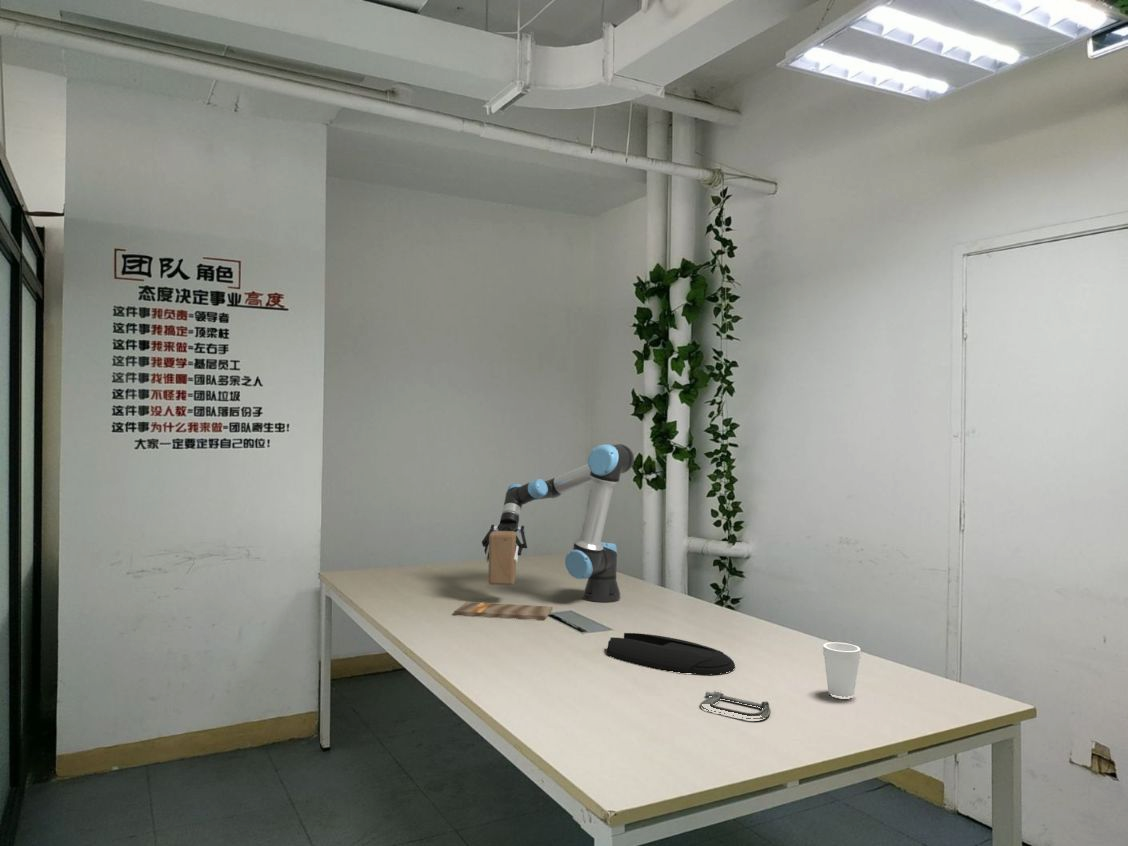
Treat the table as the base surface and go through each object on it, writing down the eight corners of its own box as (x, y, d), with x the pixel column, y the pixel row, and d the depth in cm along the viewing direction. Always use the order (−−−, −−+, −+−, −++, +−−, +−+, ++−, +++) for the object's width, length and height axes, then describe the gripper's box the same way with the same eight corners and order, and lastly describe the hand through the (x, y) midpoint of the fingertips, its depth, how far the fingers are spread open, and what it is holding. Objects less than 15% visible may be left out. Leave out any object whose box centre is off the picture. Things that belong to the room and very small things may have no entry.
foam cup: (830, 687, 224) (831, 640, 224) (864, 695, 218) (865, 646, 218) (817, 696, 216) (817, 647, 216) (851, 704, 210) (852, 654, 210)
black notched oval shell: (711, 683, 226) (711, 666, 226) (593, 656, 251) (593, 639, 251) (750, 664, 246) (750, 647, 246) (637, 640, 271) (637, 625, 271)
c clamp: (683, 707, 207) (683, 697, 207) (719, 691, 220) (719, 681, 220) (755, 728, 194) (755, 717, 194) (788, 710, 207) (788, 699, 207)
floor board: (552, 610, 309) (552, 606, 309) (544, 620, 294) (544, 615, 294) (466, 605, 315) (466, 601, 315) (454, 615, 299) (454, 610, 299)
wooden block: (513, 585, 317) (514, 534, 317) (488, 585, 317) (488, 533, 317) (515, 580, 327) (516, 530, 327) (491, 580, 327) (491, 530, 327)
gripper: (539, 523, 335) (531, 567, 320) (484, 521, 339) (473, 565, 323) (537, 511, 330) (528, 556, 314) (481, 510, 334) (470, 553, 318)
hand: (500, 560), depth 319 cm, fingers closed on wooden block, 11 cm apart
